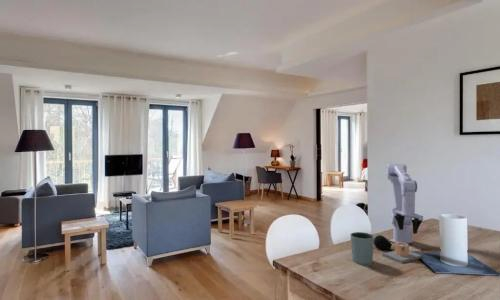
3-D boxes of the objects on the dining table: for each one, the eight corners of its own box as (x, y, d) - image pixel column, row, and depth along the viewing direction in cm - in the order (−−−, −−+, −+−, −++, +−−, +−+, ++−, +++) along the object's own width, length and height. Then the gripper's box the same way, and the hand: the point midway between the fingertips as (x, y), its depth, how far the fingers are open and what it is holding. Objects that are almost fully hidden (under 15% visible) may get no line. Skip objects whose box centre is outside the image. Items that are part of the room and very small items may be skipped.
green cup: (375, 266, 139) (376, 239, 138) (351, 264, 141) (351, 237, 140) (371, 258, 149) (371, 232, 148) (348, 256, 151) (349, 231, 150)
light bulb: (401, 240, 157) (377, 230, 164) (396, 250, 153) (372, 240, 160) (400, 248, 161) (376, 238, 168) (395, 258, 157) (371, 248, 164)
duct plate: (402, 251, 158) (402, 240, 158) (421, 257, 149) (421, 246, 149) (382, 255, 151) (383, 244, 151) (401, 263, 142) (401, 251, 142)
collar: (394, 251, 153) (395, 242, 153) (407, 253, 152) (407, 243, 152) (396, 256, 148) (396, 246, 148) (409, 257, 146) (409, 247, 146)
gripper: (390, 202, 163) (390, 228, 164) (416, 208, 151) (416, 236, 151) (399, 201, 167) (399, 227, 167) (426, 206, 154) (425, 234, 154)
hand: (407, 231), depth 159 cm, fingers open, 7 cm apart
